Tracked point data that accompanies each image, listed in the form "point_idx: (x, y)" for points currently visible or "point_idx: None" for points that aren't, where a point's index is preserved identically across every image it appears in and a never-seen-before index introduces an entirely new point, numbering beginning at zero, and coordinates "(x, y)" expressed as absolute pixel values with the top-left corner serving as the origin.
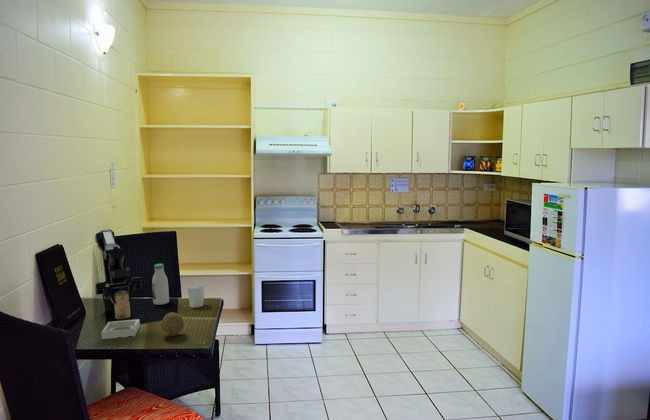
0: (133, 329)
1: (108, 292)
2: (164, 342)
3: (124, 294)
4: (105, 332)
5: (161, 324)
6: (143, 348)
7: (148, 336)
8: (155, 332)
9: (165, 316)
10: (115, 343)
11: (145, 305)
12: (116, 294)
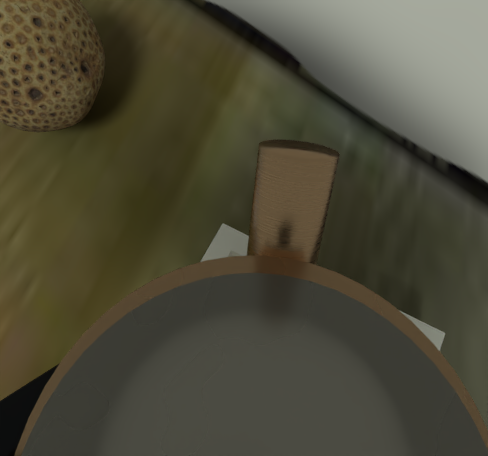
0: (229, 226)
1: None
2: (149, 60)
3: (216, 281)
4: (413, 319)
5: (86, 74)
6: (256, 54)
7: (168, 183)
8: (107, 218)
9: (34, 4)
10: (356, 202)
11: None
12: (455, 401)
